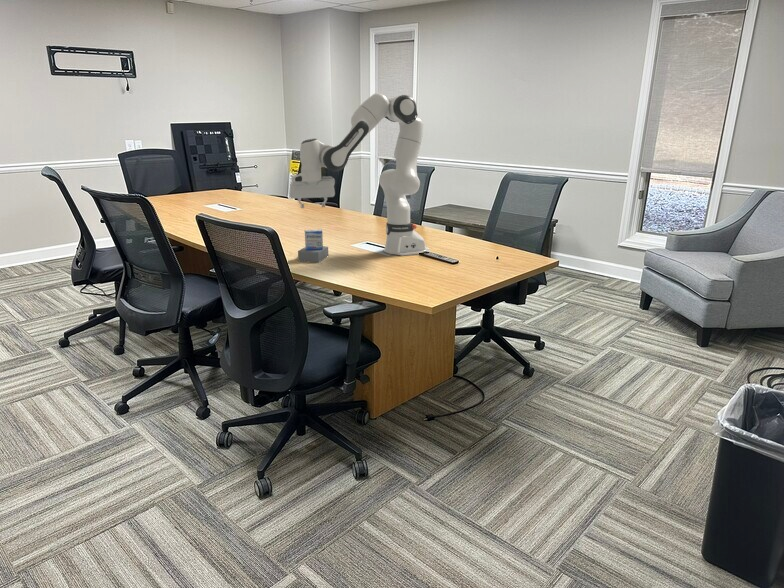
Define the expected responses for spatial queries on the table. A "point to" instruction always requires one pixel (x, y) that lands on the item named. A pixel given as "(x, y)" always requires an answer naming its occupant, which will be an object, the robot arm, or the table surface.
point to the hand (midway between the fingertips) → (313, 207)
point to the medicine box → (313, 239)
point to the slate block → (313, 254)
